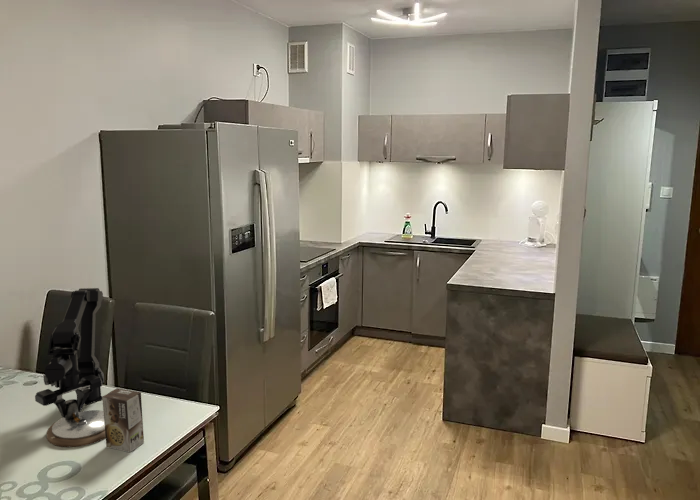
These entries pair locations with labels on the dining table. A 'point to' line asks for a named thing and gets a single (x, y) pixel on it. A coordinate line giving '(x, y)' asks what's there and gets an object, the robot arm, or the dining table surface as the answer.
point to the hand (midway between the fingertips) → (71, 414)
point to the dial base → (75, 442)
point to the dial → (78, 423)
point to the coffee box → (123, 419)
